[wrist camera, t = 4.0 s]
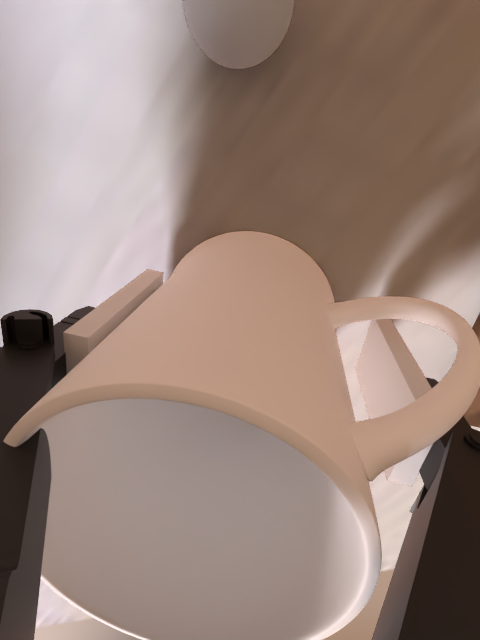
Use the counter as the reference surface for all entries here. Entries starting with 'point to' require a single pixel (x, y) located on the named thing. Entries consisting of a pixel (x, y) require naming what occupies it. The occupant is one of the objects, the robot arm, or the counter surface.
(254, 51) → the ball
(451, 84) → the counter surface
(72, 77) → the counter surface
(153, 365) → the mug
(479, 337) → the tray
